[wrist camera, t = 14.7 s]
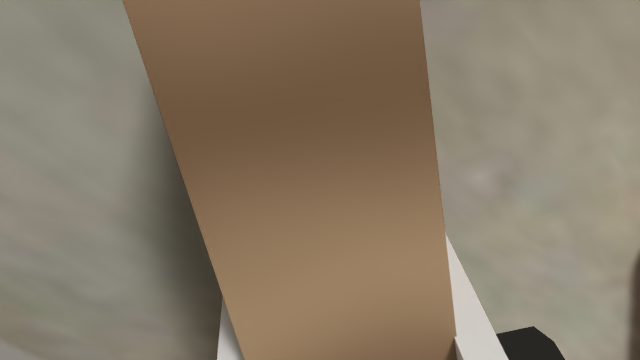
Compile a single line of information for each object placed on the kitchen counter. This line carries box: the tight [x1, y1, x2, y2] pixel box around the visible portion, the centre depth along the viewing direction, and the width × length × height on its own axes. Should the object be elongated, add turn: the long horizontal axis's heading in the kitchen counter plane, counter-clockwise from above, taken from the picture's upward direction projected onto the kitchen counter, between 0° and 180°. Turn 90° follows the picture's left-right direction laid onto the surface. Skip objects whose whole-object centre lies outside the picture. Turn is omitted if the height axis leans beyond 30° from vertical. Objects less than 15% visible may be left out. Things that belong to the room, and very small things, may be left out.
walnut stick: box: [122, 0, 457, 360], centre depth 14 cm, size 20×4×4 cm, turn 11°
